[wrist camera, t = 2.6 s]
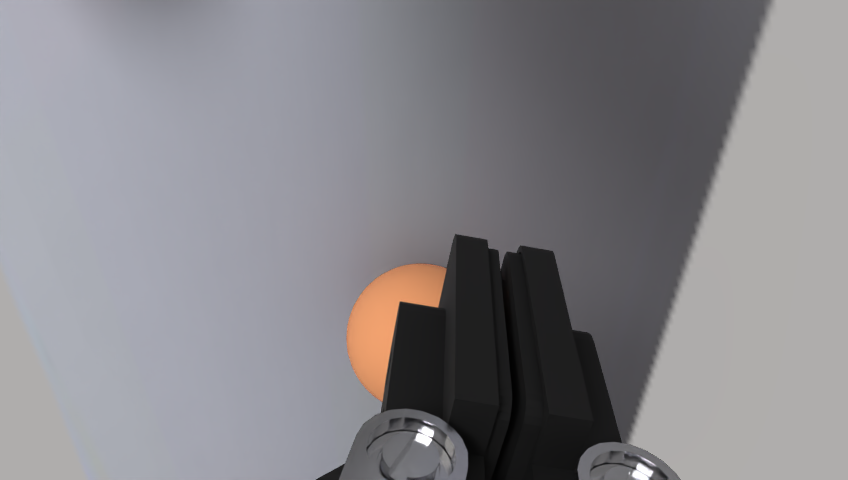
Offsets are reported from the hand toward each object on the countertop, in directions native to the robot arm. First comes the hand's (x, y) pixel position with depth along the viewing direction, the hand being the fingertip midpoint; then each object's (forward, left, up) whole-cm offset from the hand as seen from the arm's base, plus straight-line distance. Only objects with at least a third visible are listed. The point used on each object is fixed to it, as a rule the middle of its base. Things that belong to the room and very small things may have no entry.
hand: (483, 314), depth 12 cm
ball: (+9, 0, -11) cm, 14 cm away
